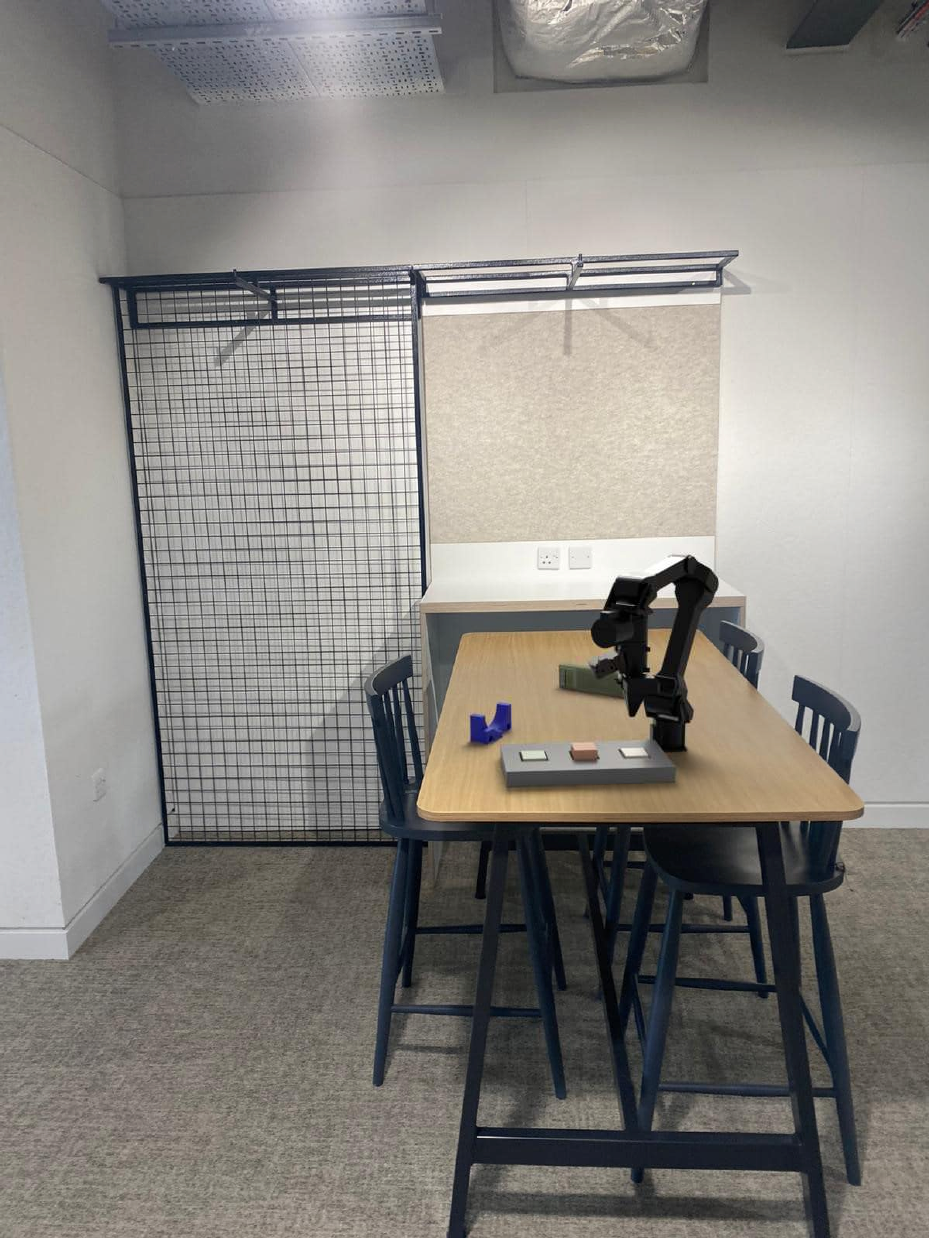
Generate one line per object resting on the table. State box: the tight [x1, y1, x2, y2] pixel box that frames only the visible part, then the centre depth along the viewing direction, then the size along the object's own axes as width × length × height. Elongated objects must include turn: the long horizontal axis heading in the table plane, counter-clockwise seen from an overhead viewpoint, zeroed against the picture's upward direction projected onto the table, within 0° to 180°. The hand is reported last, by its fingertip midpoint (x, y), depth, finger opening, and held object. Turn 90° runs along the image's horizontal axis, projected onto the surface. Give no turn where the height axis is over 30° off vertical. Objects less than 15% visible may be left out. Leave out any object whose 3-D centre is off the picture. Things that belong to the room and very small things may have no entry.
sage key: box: [521, 751, 546, 762], centre depth 170 cm, size 4×4×2 cm
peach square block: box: [571, 741, 598, 760], centre depth 170 cm, size 4×4×2 cm
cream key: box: [621, 748, 649, 759], centre depth 171 cm, size 4×4×2 cm
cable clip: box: [469, 701, 513, 745], centre depth 193 cm, size 12×4×6 cm, turn 144°
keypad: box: [499, 739, 677, 788], centre depth 170 cm, size 32×16×3 cm, turn 92°
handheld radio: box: [558, 662, 624, 698], centre depth 226 cm, size 7×3×25 cm
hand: (631, 716), depth 171 cm, fingers closed
